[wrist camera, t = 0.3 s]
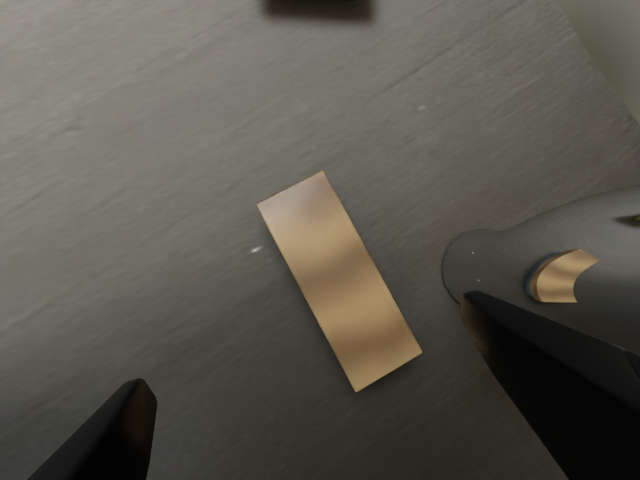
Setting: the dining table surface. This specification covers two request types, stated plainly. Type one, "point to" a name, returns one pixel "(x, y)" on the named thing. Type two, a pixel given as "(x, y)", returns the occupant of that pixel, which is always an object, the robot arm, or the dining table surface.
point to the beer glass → (562, 265)
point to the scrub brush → (339, 280)
